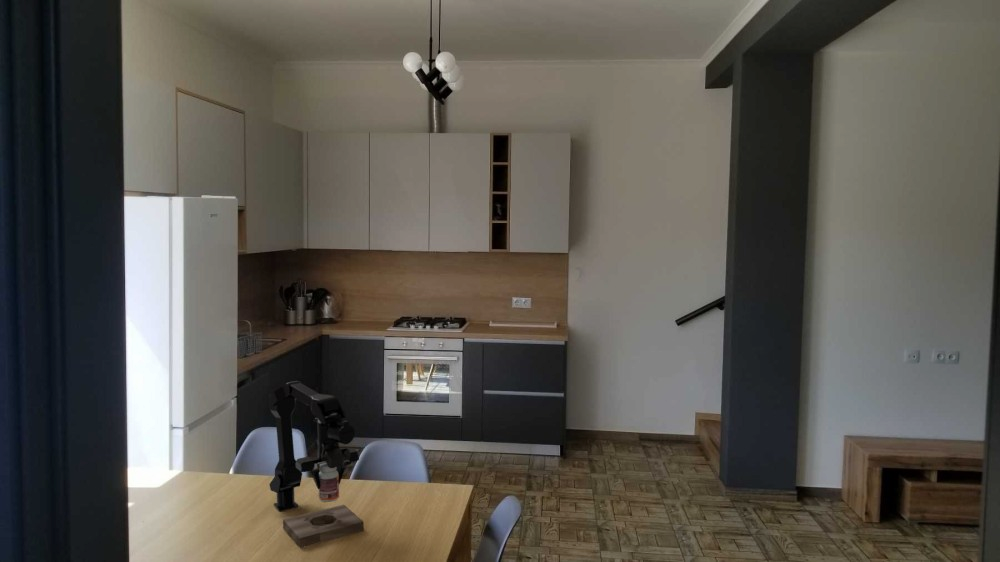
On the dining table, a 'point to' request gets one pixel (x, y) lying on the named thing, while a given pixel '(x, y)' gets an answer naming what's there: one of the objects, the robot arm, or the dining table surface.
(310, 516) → the socket board
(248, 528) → the dining table surface
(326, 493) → the pill bottle
